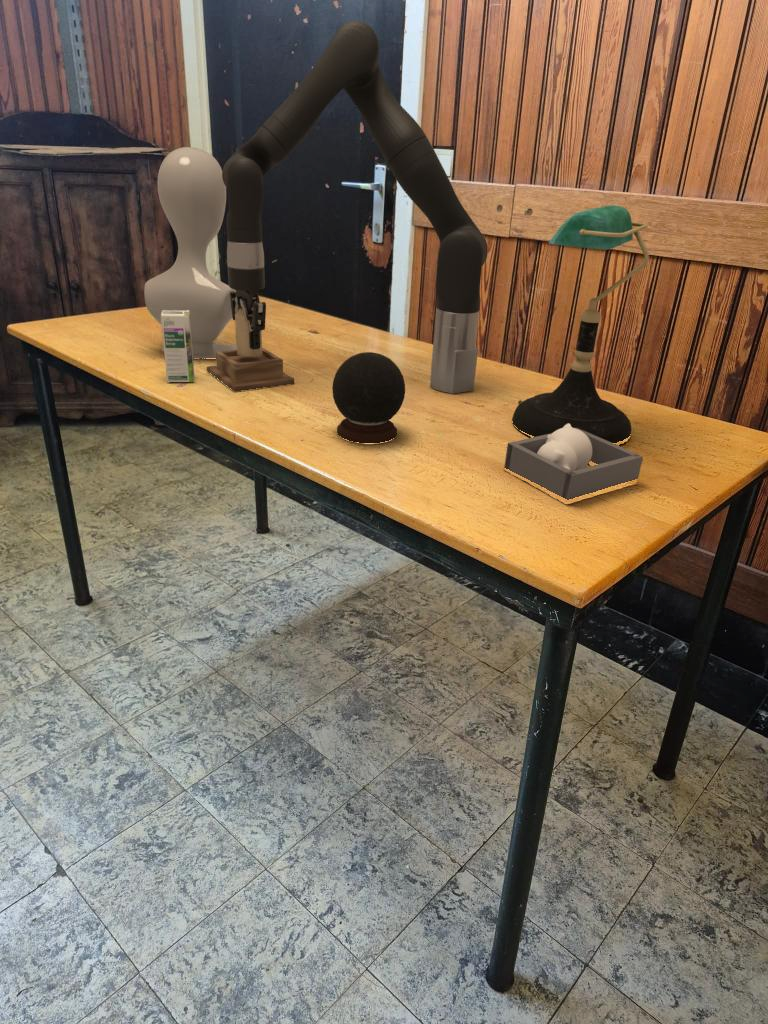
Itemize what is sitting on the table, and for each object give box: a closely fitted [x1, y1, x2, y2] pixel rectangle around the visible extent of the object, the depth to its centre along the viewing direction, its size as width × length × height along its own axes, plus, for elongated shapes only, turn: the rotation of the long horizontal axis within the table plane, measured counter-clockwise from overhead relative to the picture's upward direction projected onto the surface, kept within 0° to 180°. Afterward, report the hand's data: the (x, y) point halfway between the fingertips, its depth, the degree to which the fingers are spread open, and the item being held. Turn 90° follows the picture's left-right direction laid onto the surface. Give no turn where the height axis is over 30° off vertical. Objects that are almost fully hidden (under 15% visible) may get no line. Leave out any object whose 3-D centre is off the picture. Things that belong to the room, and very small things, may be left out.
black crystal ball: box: [331, 351, 406, 443], centre depth 127 cm, size 13×13×15 cm
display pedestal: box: [206, 347, 295, 392], centre depth 155 cm, size 16×14×5 cm
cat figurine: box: [537, 423, 592, 471], centre depth 117 cm, size 9×11×12 cm
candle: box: [234, 308, 263, 357], centre depth 152 cm, size 6×6×10 cm
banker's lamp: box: [511, 204, 650, 443], centre depth 129 cm, size 26×23×40 cm
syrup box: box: [160, 310, 195, 383], centre depth 150 cm, size 6×6×14 cm
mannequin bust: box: [143, 146, 237, 360], centre depth 163 cm, size 22×20×45 cm
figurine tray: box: [503, 428, 644, 500], centre depth 116 cm, size 14×16×5 cm
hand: (249, 345), depth 153 cm, fingers closed on candle, 5 cm apart
